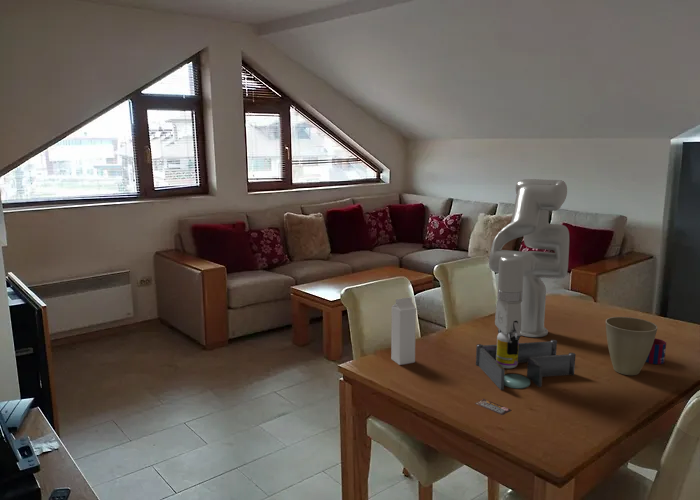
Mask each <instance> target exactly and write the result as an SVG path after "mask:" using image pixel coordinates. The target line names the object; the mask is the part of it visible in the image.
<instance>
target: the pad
mask: <svg viewBox="0 0 700 500" xmlns="http://www.w3.org/2000/svg"><path fill="white" fill-rule="evenodd" d="M530 385H531V380H530V379H529V378H528V377H527V376H526V375H522V374H518V373H506V374H505V376H504V387H508V388H509V389H510V388H511V389H525V388H528V387H530Z"/></svg>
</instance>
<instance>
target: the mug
mask: <svg viewBox="0 0 700 500" xmlns="http://www.w3.org/2000/svg"><path fill="white" fill-rule="evenodd" d="M666 349H667V341H665V340H663V339H660V338H656V337H655V339H654V342H653V345H652V348H651V350H650V353H649V355H648V357H647V360H646V362H645V363H647V364H653V365H662V364H665V360H666V359H665V357H666Z"/></svg>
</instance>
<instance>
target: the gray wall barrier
mask: <svg viewBox="0 0 700 500" xmlns="http://www.w3.org/2000/svg"><path fill="white" fill-rule="evenodd" d="M557 346H558V340H556V339H550V341H548V340H547V341H534V342H519V346H518V364H521V363H527V368H526V369H527V371H526V377H527V378H529V379H530V382H532V383H533V384H535V386H536V387H538V388H541V387H542V386H543V378H544V377H545V378H546V377H559V376H575V369H576V355H577V354H576V353H574V352H569V353H568V354H557ZM475 352H476V355H475V365H476V366H477V367H478V368H479V369H480V370H482V372H484V373H485V374H486V376H487V377H488V378H489V379H490V380H491V381H492V383H494V384H495V386H496V387H497V388H498V389H499V390H500V391H504V390H505V386H504V376H505V371H506V370H505V369H506V368H503V367H502V366H501V365H500V364H499V363H498V362H497V361H496V353H497V344H484V345H483V344H481V343H479V344H476V350H475Z"/></svg>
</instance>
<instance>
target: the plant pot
mask: <svg viewBox="0 0 700 500" xmlns="http://www.w3.org/2000/svg"><path fill="white" fill-rule="evenodd" d="M657 331H658V326H657V324H655V323H653V322H652V321H648V320H646V319H641V318H637V317H631V316H629V317H628V316H612V317H608V318H606V319H605V333H606V341H607V347H608V352H609V357H610V362H611V364H612V368H613V371H615V372H616V373H619V374H621V375H624V376H625V375H626V376H637V375H639V374H640V372H641V370H642V369H643V368H644V365H645V364H646V363H647V362H646V360H647V357H648V355H649V353H650V350H651V348H652V345H653V342H654V339H655V338H656V336H657Z"/></svg>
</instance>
